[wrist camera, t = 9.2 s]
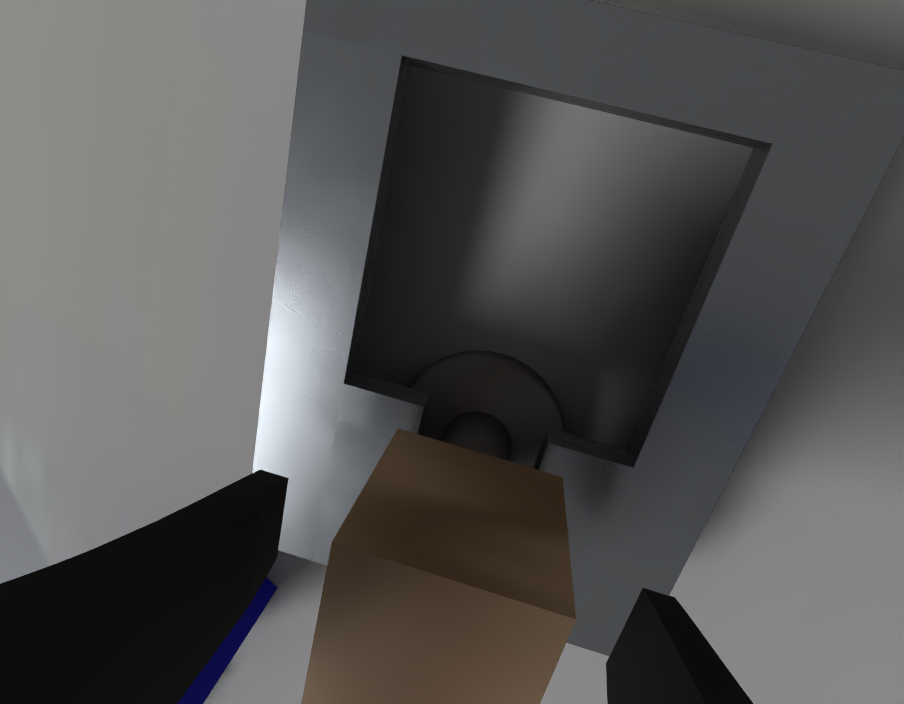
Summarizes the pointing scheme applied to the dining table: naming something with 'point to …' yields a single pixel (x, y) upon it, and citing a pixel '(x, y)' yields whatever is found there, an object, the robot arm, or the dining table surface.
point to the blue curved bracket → (228, 647)
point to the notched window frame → (706, 317)
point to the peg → (452, 553)
